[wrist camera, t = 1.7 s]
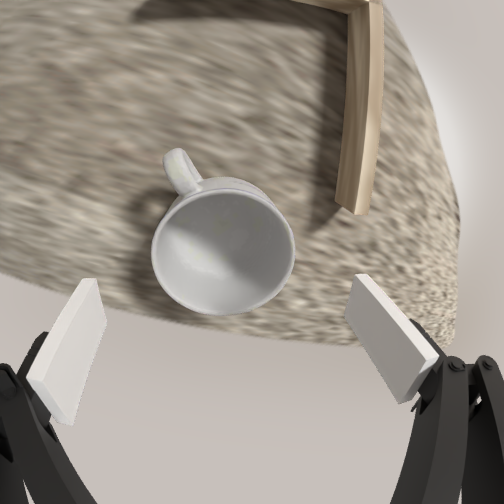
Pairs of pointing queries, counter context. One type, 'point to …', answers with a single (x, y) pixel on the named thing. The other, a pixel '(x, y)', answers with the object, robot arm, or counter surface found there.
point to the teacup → (220, 243)
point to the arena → (360, 100)
